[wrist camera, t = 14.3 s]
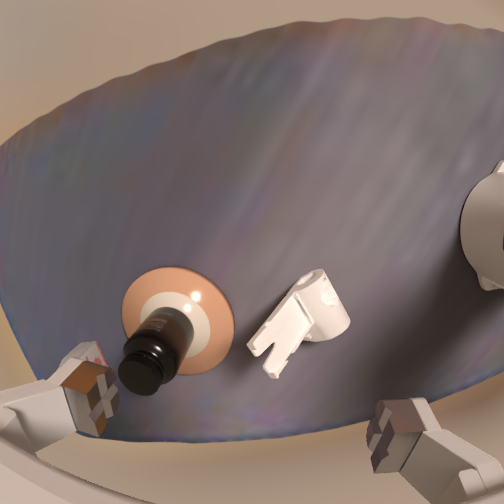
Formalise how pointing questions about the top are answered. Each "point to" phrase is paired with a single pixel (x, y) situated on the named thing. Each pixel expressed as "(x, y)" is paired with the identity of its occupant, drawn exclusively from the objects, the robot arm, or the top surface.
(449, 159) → the top surface
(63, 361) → the tea bag
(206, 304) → the peach rimmed plate
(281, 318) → the plastic part
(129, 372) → the supplement bottle
